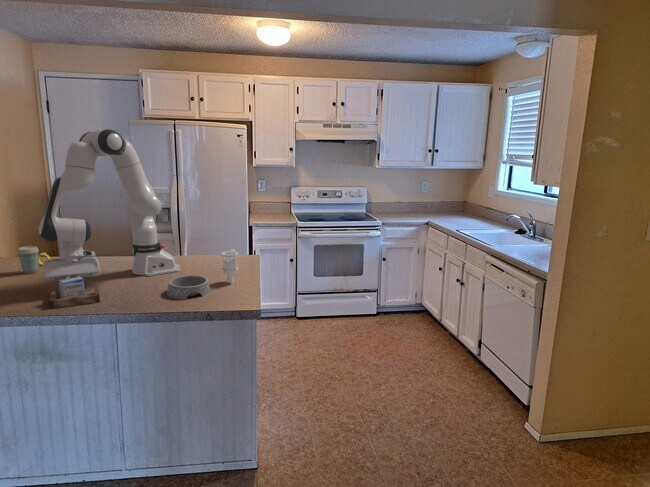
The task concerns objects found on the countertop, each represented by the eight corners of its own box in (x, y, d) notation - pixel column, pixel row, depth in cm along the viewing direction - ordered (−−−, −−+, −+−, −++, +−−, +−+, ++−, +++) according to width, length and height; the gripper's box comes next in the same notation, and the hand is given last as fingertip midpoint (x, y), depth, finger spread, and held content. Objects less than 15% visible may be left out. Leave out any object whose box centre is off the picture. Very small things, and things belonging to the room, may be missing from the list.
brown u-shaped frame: (98, 292, 189) (98, 285, 189) (99, 302, 179) (99, 295, 178) (52, 298, 181) (51, 291, 181) (50, 308, 171) (49, 301, 170)
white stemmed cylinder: (241, 281, 209) (240, 250, 205) (232, 285, 203) (231, 253, 199) (228, 278, 212) (228, 248, 208) (219, 282, 205) (218, 251, 202)
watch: (37, 265, 225) (35, 254, 224) (41, 264, 228) (38, 253, 227) (48, 265, 225) (46, 254, 224) (52, 263, 228) (50, 252, 226)
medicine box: (64, 303, 176) (62, 282, 174) (60, 300, 179) (58, 280, 177) (85, 298, 182) (83, 278, 180) (81, 295, 185) (79, 275, 183)
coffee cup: (45, 270, 217) (42, 246, 214) (29, 275, 209) (25, 250, 206) (32, 268, 219) (29, 245, 216) (15, 273, 211) (12, 249, 209)
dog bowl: (216, 294, 191) (215, 283, 190) (172, 302, 181) (171, 289, 180) (203, 283, 205) (203, 272, 204) (162, 290, 195) (161, 278, 194)
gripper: (42, 256, 182) (43, 286, 176) (98, 251, 191) (101, 279, 185) (44, 263, 187) (45, 293, 181) (98, 258, 196) (101, 286, 190)
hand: (74, 286), depth 183 cm, fingers closed
